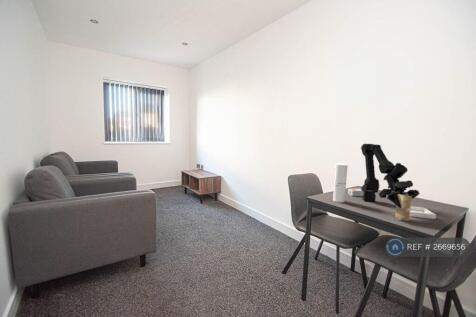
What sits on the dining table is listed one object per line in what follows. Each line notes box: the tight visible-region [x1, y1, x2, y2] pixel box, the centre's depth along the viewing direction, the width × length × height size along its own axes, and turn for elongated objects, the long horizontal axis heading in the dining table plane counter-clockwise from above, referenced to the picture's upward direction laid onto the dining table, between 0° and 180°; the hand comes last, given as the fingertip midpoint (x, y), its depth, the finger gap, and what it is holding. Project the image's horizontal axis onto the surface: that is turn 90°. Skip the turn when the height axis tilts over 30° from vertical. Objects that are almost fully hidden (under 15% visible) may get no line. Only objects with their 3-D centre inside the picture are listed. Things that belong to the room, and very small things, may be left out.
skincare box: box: [347, 188, 364, 197], centre depth 167 cm, size 6×4×12 cm
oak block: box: [394, 194, 413, 222], centre depth 121 cm, size 4×4×13 cm
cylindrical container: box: [332, 162, 349, 203], centre depth 151 cm, size 7×7×25 cm
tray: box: [410, 205, 437, 220], centre depth 130 cm, size 12×12×3 cm
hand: (405, 207), depth 119 cm, fingers closed on oak block, 4 cm apart
